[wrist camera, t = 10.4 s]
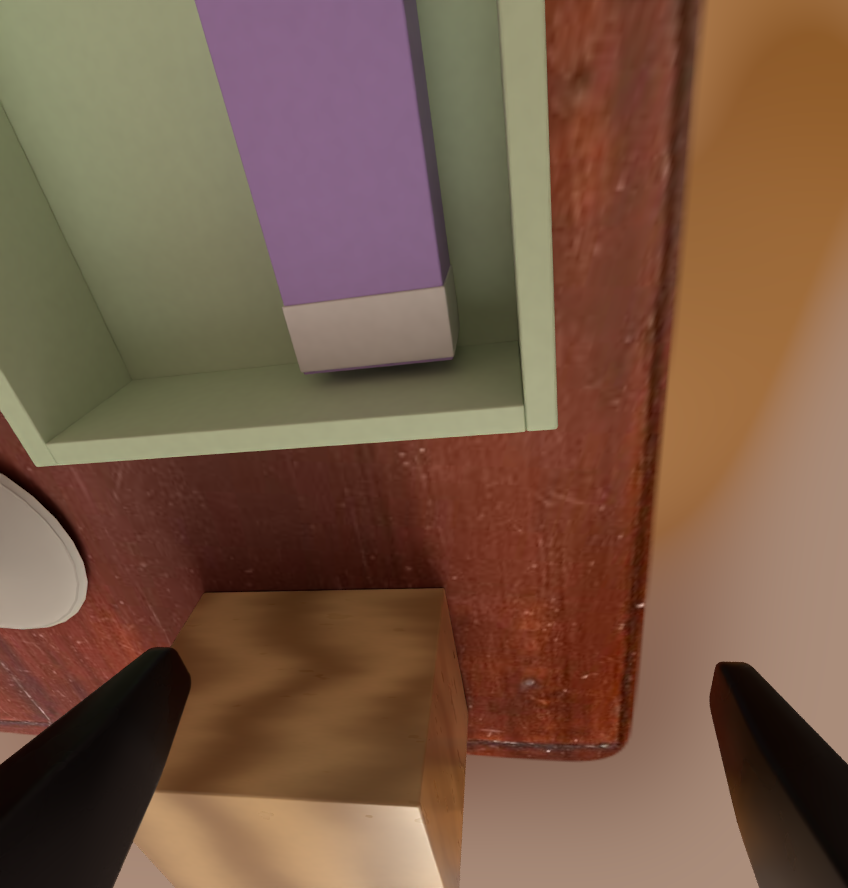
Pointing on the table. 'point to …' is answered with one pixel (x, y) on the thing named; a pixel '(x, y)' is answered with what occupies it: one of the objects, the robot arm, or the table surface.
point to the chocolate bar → (341, 174)
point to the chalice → (36, 564)
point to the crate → (315, 744)
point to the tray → (245, 245)
